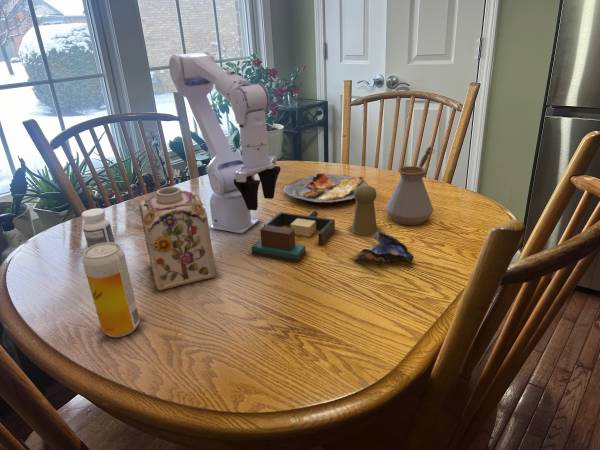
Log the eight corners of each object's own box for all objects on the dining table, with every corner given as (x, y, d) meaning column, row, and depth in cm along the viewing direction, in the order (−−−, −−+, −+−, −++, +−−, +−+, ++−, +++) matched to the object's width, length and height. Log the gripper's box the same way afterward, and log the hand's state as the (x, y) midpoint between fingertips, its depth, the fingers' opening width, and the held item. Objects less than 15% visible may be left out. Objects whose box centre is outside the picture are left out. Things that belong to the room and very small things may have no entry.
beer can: (109, 318, 77) (88, 242, 71) (144, 315, 77) (126, 239, 71) (97, 341, 71) (74, 260, 65) (135, 337, 72) (115, 257, 66)
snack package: (361, 243, 99) (347, 266, 89) (367, 217, 97) (353, 238, 87) (414, 258, 96) (405, 284, 86) (421, 232, 93) (413, 256, 83)
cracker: (290, 233, 105) (290, 224, 104) (297, 227, 109) (297, 218, 108) (309, 236, 103) (309, 227, 102) (316, 230, 107) (316, 220, 106)
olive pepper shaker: (376, 236, 102) (377, 192, 97) (350, 235, 103) (350, 191, 99) (377, 225, 107) (379, 183, 103) (353, 224, 109) (353, 182, 104)
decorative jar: (150, 265, 94) (134, 186, 86) (204, 253, 98) (193, 176, 90) (157, 293, 84) (139, 205, 76) (217, 278, 88) (205, 194, 80)
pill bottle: (104, 244, 105) (94, 205, 100) (121, 248, 102) (112, 209, 98) (84, 254, 100) (73, 215, 96) (102, 259, 97) (91, 218, 93)
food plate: (317, 176, 145) (317, 165, 144) (381, 187, 132) (381, 176, 131) (270, 199, 127) (269, 188, 126) (338, 215, 114) (338, 202, 113)
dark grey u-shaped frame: (264, 236, 105) (263, 224, 104) (289, 215, 116) (288, 204, 115) (321, 245, 99) (321, 233, 98) (342, 222, 110) (341, 211, 109)
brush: (252, 254, 96) (249, 229, 94) (262, 245, 100) (260, 221, 98) (297, 263, 92) (295, 237, 90) (305, 253, 96) (304, 228, 93)
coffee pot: (424, 231, 103) (429, 170, 97) (378, 223, 109) (380, 165, 102) (447, 202, 119) (453, 148, 113) (406, 195, 125) (410, 144, 119)
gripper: (253, 152, 86) (260, 216, 91) (286, 137, 98) (291, 194, 103) (223, 151, 89) (232, 213, 94) (259, 136, 101) (264, 192, 106)
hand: (261, 203), depth 98 cm, fingers open, 7 cm apart
